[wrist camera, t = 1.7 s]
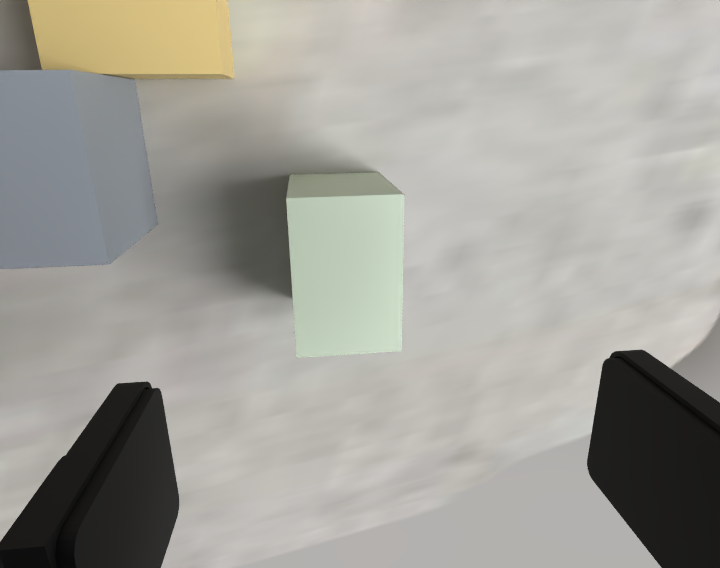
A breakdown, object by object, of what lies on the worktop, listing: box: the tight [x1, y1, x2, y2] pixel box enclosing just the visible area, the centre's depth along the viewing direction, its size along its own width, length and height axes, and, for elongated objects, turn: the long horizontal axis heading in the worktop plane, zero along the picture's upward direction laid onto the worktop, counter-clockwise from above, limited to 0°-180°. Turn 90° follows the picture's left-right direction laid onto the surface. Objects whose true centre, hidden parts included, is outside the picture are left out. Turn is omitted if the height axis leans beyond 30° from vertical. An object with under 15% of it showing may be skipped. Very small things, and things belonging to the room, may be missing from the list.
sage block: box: [286, 172, 404, 358], centre depth 20 cm, size 6×4×6 cm, turn 1°
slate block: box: [0, 70, 158, 269], centre depth 18 cm, size 6×4×6 cm, turn 1°
